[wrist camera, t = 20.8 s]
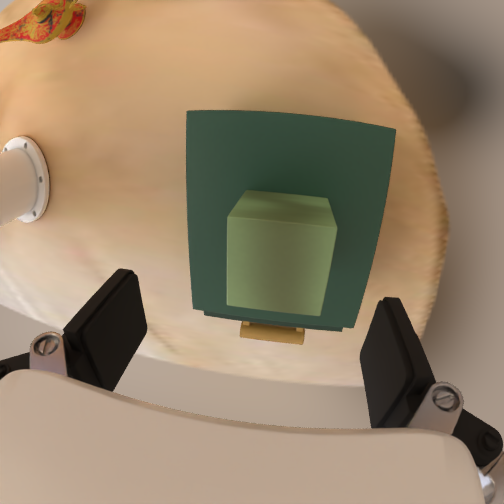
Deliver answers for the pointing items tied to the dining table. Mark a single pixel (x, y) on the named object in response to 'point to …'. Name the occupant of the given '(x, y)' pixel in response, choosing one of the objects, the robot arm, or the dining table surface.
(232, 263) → the block
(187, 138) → the cabinet
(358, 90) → the dining table surface
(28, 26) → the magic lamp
